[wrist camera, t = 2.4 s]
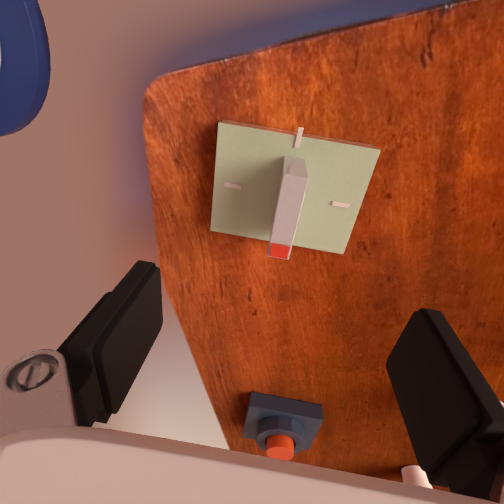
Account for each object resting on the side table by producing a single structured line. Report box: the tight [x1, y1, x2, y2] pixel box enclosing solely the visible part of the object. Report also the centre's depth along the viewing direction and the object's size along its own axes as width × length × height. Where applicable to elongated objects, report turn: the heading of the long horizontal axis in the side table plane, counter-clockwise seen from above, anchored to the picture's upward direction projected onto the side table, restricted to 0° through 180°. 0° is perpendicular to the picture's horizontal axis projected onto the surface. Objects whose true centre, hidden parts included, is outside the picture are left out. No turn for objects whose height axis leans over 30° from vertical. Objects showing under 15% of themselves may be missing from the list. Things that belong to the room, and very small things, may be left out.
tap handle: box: [267, 156, 309, 260], centre depth 21 cm, size 6×2×5 cm, turn 172°
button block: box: [242, 392, 323, 454], centre depth 41 cm, size 10×8×4 cm
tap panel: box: [210, 120, 381, 254], centre depth 24 cm, size 12×10×2 cm
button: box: [266, 434, 294, 461], centre depth 39 cm, size 4×4×2 cm
